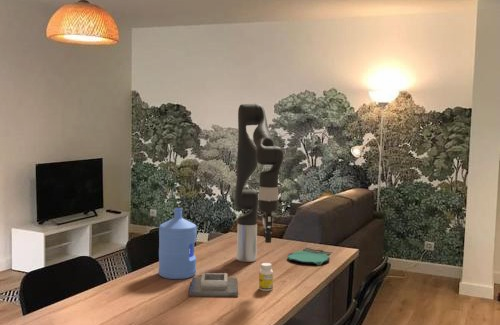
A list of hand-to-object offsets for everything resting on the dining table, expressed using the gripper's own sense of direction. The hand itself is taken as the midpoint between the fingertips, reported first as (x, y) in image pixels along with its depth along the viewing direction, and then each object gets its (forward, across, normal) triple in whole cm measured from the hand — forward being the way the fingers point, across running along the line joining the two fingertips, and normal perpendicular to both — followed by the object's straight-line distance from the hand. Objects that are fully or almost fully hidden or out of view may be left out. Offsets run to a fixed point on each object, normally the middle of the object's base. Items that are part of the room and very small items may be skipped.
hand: (267, 240), depth 193 cm
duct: (+19, 0, -20) cm, 28 cm away
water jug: (+19, -18, -36) cm, 45 cm away
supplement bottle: (+20, 0, 0) cm, 20 cm away
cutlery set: (+20, -48, +26) cm, 58 cm away
